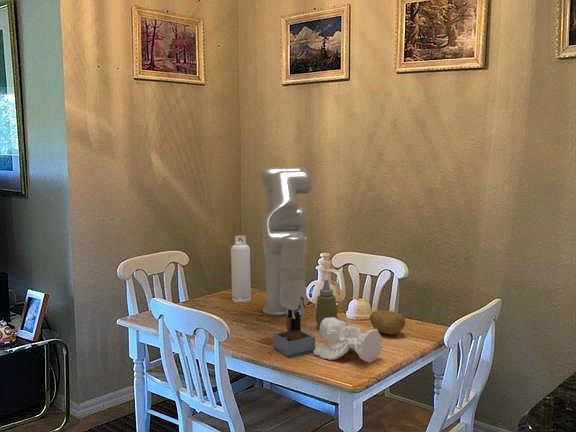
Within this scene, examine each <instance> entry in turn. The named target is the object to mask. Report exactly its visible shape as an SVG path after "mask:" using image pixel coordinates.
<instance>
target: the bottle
mask: <svg viewBox="0 0 576 432" xmlns="http://www.w3.org/2000/svg"><path fill="white" fill-rule="evenodd" d="M230 263H231V266H230V268H231V294H232V295H231V300H233V301H234V302H233V301H232V302H233V303H237V302H244V303H248V302H247V301H249V302H251V301H252V296H251V294H252V293H251V292H252V291H251V289H252V287H251V282H252V281H251V248H250V246H249V245H248V244H247V238H246V235H235V236H234V244H233V245H232V246H231V247H230ZM236 298H237V299H236ZM250 300H251V301H250Z"/></svg>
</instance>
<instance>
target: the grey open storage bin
mask: <svg viewBox="0 0 576 432" xmlns="http://www.w3.org/2000/svg"><path fill="white" fill-rule="evenodd" d="M272 338H273V339H272V343H273V344H272V346H273V347H272V348H273V350H275V351H276V352H278V353H280V354H281V355H282V356H285V357H286V358H288V359H289V358H294V357H298V356H299V357H300V356H303V355H308V354H312V353H313V354H314V352H313V351H314V350H315V349H316V337H315V336H314V335H312V334H310V333H308V332H305V331H304V330H302V329H301V339H298V340H293V341H288V336H287V330H286V331H282V332H281V331H280V332H277V333H273V335H272Z"/></svg>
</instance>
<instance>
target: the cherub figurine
mask: <svg viewBox="0 0 576 432" xmlns="http://www.w3.org/2000/svg"><path fill="white" fill-rule="evenodd" d="M318 330H319V335H320V337H321V339H322V340H324V341H325V343H324V344H322V345H320V346H318V347H315V350H314V351H313V354H314V355H315V356H317V357H320V358H321V359H325V360H329V361H333V360H338V359H339V358H340V357H343V356H344V355H345V354H347V353H348V352H349V351H355V353H357V356H358V357H359V358H360V360H363V361H364V362H366V363H368V364H371V363H372V362H373V361H376V360H377V359H378V358H379V356H380V355H381V352H382V349H383V347H382V344H383V337H382V335H381V334H380V332H379V331H378V330H377V329H375V328H373V329H369V330H366V331H365V332H363V333H362V331H361V329H360V328H358V327H356V326H352V325H347V323H346V322H345V321H343V320H340V319H336V318H334V317H331V318H325V319H323V320H322V321H321V324H320V329H319V328H318Z"/></svg>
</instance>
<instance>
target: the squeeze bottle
mask: <svg viewBox="0 0 576 432" xmlns="http://www.w3.org/2000/svg"><path fill="white" fill-rule="evenodd" d="M322 287H323V288H320V289H319V295H318V296H317V298H316V299H317V300H316V309H315V322H316V325H317V327H318V330H319V329H320V324H321V321H322V320H323V319H325V318H331V317H334V318H336V319H338V310H337V309H338V308H337V301H336V296H335V295H334V293H333V292H334V289H331V288H330V284H329V279H324V283H323V286H322ZM338 320H339V319H338Z"/></svg>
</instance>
